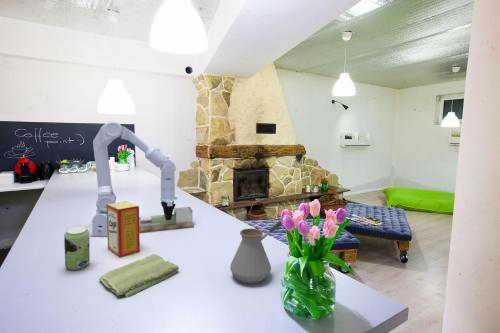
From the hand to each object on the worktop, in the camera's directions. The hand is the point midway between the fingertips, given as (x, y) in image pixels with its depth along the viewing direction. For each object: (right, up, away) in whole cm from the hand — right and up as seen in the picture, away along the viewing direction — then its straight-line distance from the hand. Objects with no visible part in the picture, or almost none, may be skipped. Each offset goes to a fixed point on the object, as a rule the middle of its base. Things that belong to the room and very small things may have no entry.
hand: (168, 218), depth 116 cm
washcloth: (+6, -8, -43) cm, 44 cm away
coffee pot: (+40, -8, -38) cm, 56 cm away
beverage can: (-14, -7, -39) cm, 42 cm away
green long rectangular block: (0, -2, 0) cm, 2 cm away
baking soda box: (-7, -6, -26) cm, 28 cm away
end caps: (-1, -2, 0) cm, 2 cm away
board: (-1, -3, 0) cm, 3 cm away
